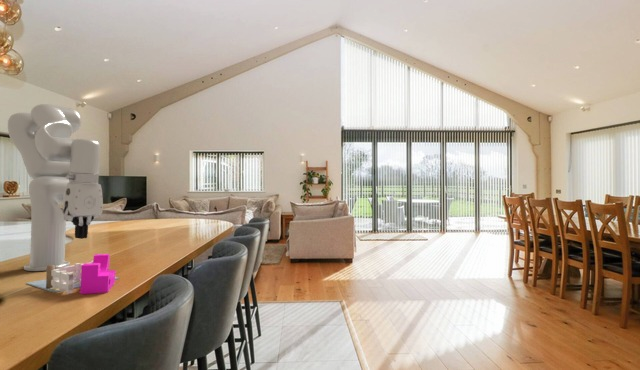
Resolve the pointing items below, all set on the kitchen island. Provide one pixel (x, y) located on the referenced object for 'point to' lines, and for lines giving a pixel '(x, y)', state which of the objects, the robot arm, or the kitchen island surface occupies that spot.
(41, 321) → the kitchen island surface
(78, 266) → the swing panel
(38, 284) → the mat
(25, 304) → the kitchen island surface
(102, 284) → the toy block
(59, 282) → the fixed panel and post
